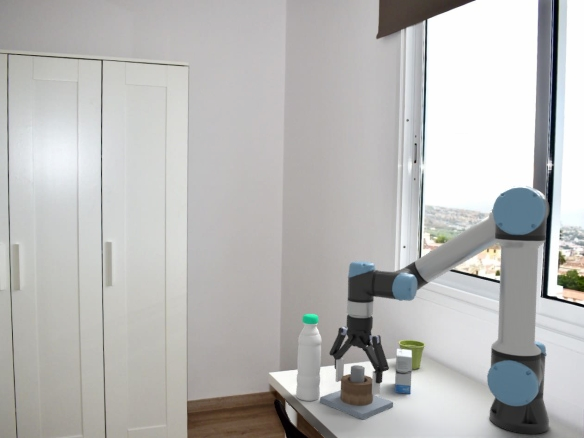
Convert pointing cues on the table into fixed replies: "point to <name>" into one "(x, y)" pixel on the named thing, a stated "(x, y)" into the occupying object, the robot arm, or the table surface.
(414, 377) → the table surface
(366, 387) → the collar
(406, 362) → the ink box
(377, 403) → the stand
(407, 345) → the plant pot
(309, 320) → the water bottle
